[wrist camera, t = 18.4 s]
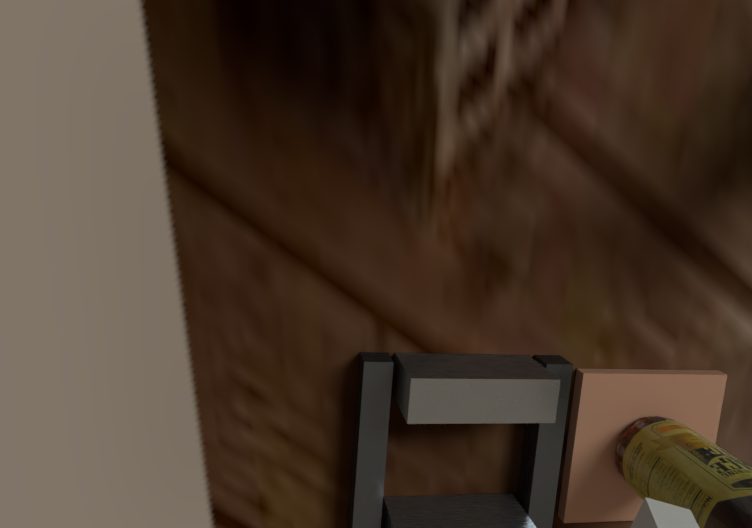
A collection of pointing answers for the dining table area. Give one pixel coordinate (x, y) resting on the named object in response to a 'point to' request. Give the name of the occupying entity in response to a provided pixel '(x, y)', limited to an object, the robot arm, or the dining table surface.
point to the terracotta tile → (610, 420)
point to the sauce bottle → (686, 472)
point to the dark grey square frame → (460, 406)
